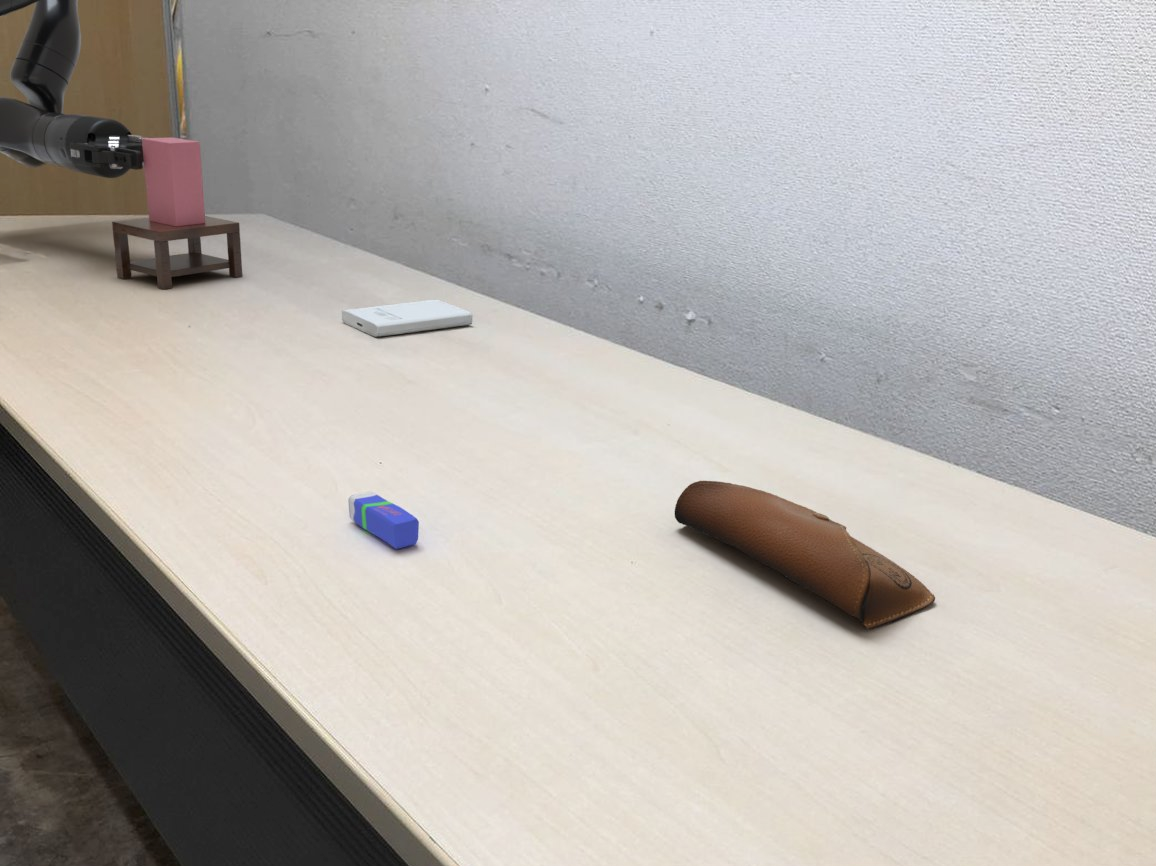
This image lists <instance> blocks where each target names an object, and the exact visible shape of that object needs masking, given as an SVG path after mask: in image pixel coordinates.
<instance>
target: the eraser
mask: <svg viewBox="0 0 1156 866" xmlns="http://www.w3.org/2000/svg"><path fill="white" fill-rule="evenodd" d="M348 511H349V518H350V520H351V521H352V522H354V524H356V525H357V526H359V527H360V528H362V529H363V530H366V531H367V532H369V533H370V534H372V535H374V536H376V537H378V538H379V539H380V540H382V541H384V542H385V543H387V544H388V545H390V546H391V547H392V548H394V549H396V550H398V549H402V548H406V547H409V546H413V545H416V544H417V543H418V541H419V529H420V527H419V526H420V525H419V524H420V521H419V520H418V518H417V517H416V516H415V515H413V514H411V513H410V512H409V511H407V510H405V509H404V508H403V507H400V506H399V505H396V504H395V503H393V502H391V501H389V500H387V499H385V498H383V497H381V496H380V495H379V494H377V493H376V492H374V491H370V490H369V491H365V492H361V493H357V494H352V495H350V496H349V497H348Z"/></svg>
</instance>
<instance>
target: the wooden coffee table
mask: <svg viewBox="0 0 1156 866" xmlns="http://www.w3.org/2000/svg"><path fill="white" fill-rule="evenodd" d="M111 226H112V227H111V228H112V236H113V246H114V247H113V248H114V255H115V265H116V266H115V267H116V277H117V278H118V279H122V280H127V279H132V277H133V276H132V271H134V272H137V273H142V274H146V275H149V276H153V277H156V279H157V280H156V282H157V288H158V289H160V290H169V289H173V282H172V280H173V279H172V278H175V277H182V276H188V275H195V274H200V273H207V272H214V271H219V270H226V269H228V274H229V275H228V276H229V277H232V278H235V279H236V278H240V277H243V264H242V262H243V261H242V246H241V229H240V222H238V221H232V220H228V219H223V218H219V217H213V216H208V215H205V223H203V224H194V225H186V226H177V227H176V226H171V225H167V224H162V223H157V222H153V221H149V217H145V218H135V219H126V220H125V219H124V220H115V221H111ZM217 235H226V245H227V258H222V257H218V256H213V255H208V254H205V253H202V239H201V238H203V237H210V236H217ZM129 236H132V237H136V238H141V239H144V240H145V239H146V240H149V241H153V246H154V247H153V248H154V257H151V258H142V259H138V260H137V259H136V260H131V257H130V255H131V254H130V246H129ZM186 239H187V249H188V251H187V252H188V253H187V252H186V253H181V254H173V255H170V247H169V246H170V245H169V242H171V241H178V240H186Z"/></svg>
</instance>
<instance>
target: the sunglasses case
mask: <svg viewBox="0 0 1156 866" xmlns="http://www.w3.org/2000/svg"><path fill="white" fill-rule="evenodd" d="M674 518H675V520H676V521H677V522H678V524H681V525H683V526H686V527H687V526H688V527H690V528H691V529H693V530H695V531H697V532H699V533H703V534H704V535H706V536H707V537H711V538H715V539H717V540H718V541H719V542H720V543H724V544H726V545H729V546H732V547H734V548H737V549H738V550H739V551H740V552H742V553H743V554H745V555H747V556H749V557H750V558H752V559H754V560H755V561H757V562H759V564H762V565H764V566H766V567H768V568H770V569H772V570H774V571H776V572H778V573H780V574H782V575H783V576H784V577H786V578H787V579H789V580H790V581H792V582H793V583H795V584H797V585H799V586H800V587H802V588H805V589H806V590H808V591H810V592H812V593H813V594H815V595H817V596H819V598H822V599H824V600H825V601H827V602H828V603H830V604H832V605H834V606H836V607H837V608H839V609H841V610H842V611H843V612H845V613H846V614H848V615H849V616H852V617H855V618H857V619H858V620H859V621H860V624H862V625H863V626H864V628H866V629H867V630H873V629H876V628H877V627H882V626H887V625H889V624H892V623H895V622H898V621H900V620H903V619H905V618H907V617H910V616H912V615H913V614H915V613H917V612H919V611H922V610H923V609H925V608H927V607H930V606H931V605H932V604H934V602H935V601H936V596H935V594H933V593H932V592H931V591H930V590H929V589H928V588H927V587H926V585H925V584H924V583H923V582H922V581H921V580H919V579H918V578H917V577H915V576H914V575H913V574H912V573H910V572H909V571H908V570H906V569H904V567H901V566H900V565H898V563H895V561H893V560H891V559H889V558H888V557H887V556H885V555H883V554H882V553H880V552H878V551H876V550H875V549H873V548H872V547H870V546H868V545H866V544H865V543H864V542H861V541H859V540H858V539H856V538H854V537H853V536H851V535H850V533H849V532H848V531H847V526H845V525H843V524H842V523H839V522H836V521H834V520H832V519H830V517H828V516H827V515H825V514H822V513H820V512H817V511H815V510H813V509H810V508H809V507H806V506H803V505H801V504H798V503H795V502H794V501H791V500H788V499H785V498H783V497H781V496H778V495H777V494H773V493H770V492H768V491H764V490H762V489H757V488H753V487H749V486H746V485H740V484H736V483H732V482H726V481H718V480H717V481H716V480H698V481H694V482H692V483H690V484H689V485H687V487H686V488H684V490H682V492H681V493H680V495H679V497H678V498H677V500H676V504H675V507H674Z"/></svg>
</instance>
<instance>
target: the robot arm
mask: <svg viewBox="0 0 1156 866" xmlns="http://www.w3.org/2000/svg"><path fill="white" fill-rule="evenodd" d="M78 3H79V0H0V18H2V17H5V16H8V15H10V14H12V13H16V12H17V11H21V10H23V9H24V8H28V7H29V6H30V5H33V4H34V7H33V11H32V15H31V18H30V20H29V24H28V25H27V28H26V31H25V34H24V36H23V39H22V41H21V43H20V46H19V48H18V51H17V53H16V56H15V58H14V60H13V62H12V65H11V67H10V71H9V79H10V81H11V83H12V84H13V85H14V86H15V88H17V89H18V90H19V92H21V93H22V95H24V97H25V98H26V100H27V102H28V103H27V102H25V101H21V100H18V99H16V98H12V97H7V96H0V153H1V154H3V155H5V156H6V157H8V158H11V159H12V160H14V161H15V162H17V163H18V164H19V163H20V164H21V165H23V166H26V167H28V168H31V169H32V168H33V169H37V168H41V167H43V166H45V165H50V166H54V167H61V168H64V169H68V170H70V171H73V172H76V173H80V174H85V175H89V176H96V177H100V178H101V177H102V178H105V179H117V178H120V177H122V176H124V175H126V174H127V173H128V172H129V171H130V170H134V171H137V170H138V171H139V170H142V169H143V168H144V157H143V146H142V139H144V138H145V137H143V136H142V135H140V134H132V133H131V131H130V129H129V128H128V127H127V126H125V125H124V124H123V123H121V122H120V121H118V120H116V119H112V118H106V117H99V116H93V115H86V114H80V113H78V114H77V113H73V114H69V113H64V104H65V103H64V102H65V101H64V100H65V94H66V91H67V88H68V85H69V83H70V81H71V79H72V76H73V73H74V71H75V69H76V66H77V65H78V64H77V63H78V61H79V58H80V57H79V56H80V53H81V47H82V33H81V32H82V31H81V24H80V18H79V8H78V7H79V4H78Z"/></svg>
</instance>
